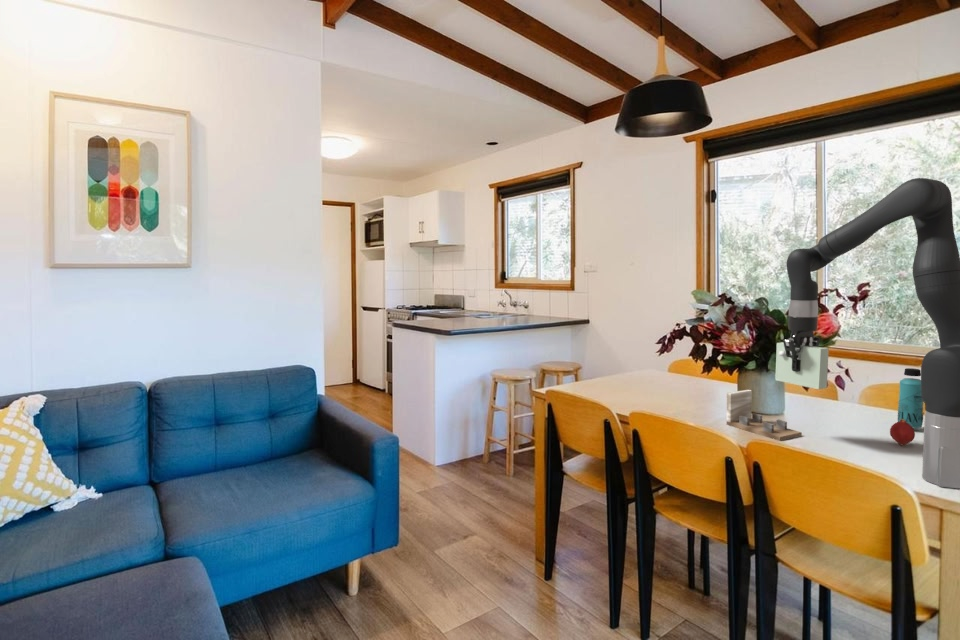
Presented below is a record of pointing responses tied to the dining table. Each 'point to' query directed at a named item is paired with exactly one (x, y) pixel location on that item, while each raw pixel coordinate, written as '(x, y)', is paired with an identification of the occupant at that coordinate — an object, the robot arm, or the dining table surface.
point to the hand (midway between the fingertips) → (800, 370)
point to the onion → (902, 432)
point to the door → (803, 367)
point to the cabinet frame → (754, 418)
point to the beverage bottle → (911, 399)
